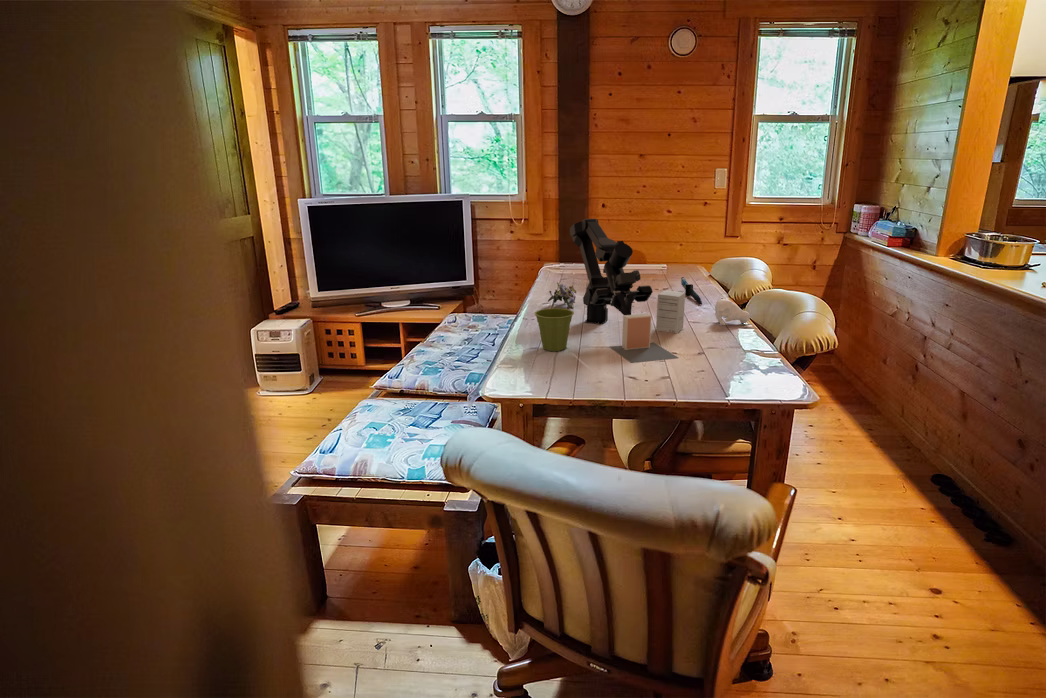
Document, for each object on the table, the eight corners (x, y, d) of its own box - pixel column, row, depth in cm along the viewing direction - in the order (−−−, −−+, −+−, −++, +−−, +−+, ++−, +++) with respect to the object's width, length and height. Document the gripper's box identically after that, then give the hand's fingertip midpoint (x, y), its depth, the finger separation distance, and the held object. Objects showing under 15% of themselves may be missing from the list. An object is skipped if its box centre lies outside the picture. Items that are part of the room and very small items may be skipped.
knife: (679, 286, 266) (680, 276, 264) (686, 286, 266) (687, 276, 264) (694, 310, 238) (695, 299, 236) (702, 310, 238) (703, 299, 236)
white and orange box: (621, 347, 186) (623, 315, 183) (645, 345, 188) (647, 313, 185) (625, 349, 184) (627, 317, 181) (650, 347, 186) (651, 315, 183)
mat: (609, 347, 187) (609, 346, 187) (653, 343, 191) (653, 342, 191) (631, 363, 173) (631, 362, 172) (679, 359, 176) (679, 358, 176)
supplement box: (662, 325, 210) (664, 289, 206) (683, 328, 207) (686, 292, 203) (655, 331, 204) (657, 294, 200) (676, 334, 201) (679, 296, 197)
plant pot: (563, 340, 195) (563, 306, 191) (580, 351, 184) (580, 315, 181) (528, 345, 191) (528, 310, 187) (543, 356, 180) (543, 319, 177)
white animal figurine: (715, 296, 213) (750, 300, 212) (710, 320, 216) (745, 324, 215) (718, 300, 207) (754, 304, 206) (714, 325, 210) (749, 329, 209)
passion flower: (571, 321, 238) (575, 301, 228) (543, 315, 238) (547, 295, 229) (575, 300, 244) (580, 279, 235) (548, 294, 245) (552, 274, 235)
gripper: (596, 263, 187) (609, 306, 180) (651, 260, 192) (666, 301, 185) (586, 283, 197) (598, 325, 190) (639, 280, 202) (653, 320, 195)
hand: (629, 318), depth 190 cm, fingers closed
